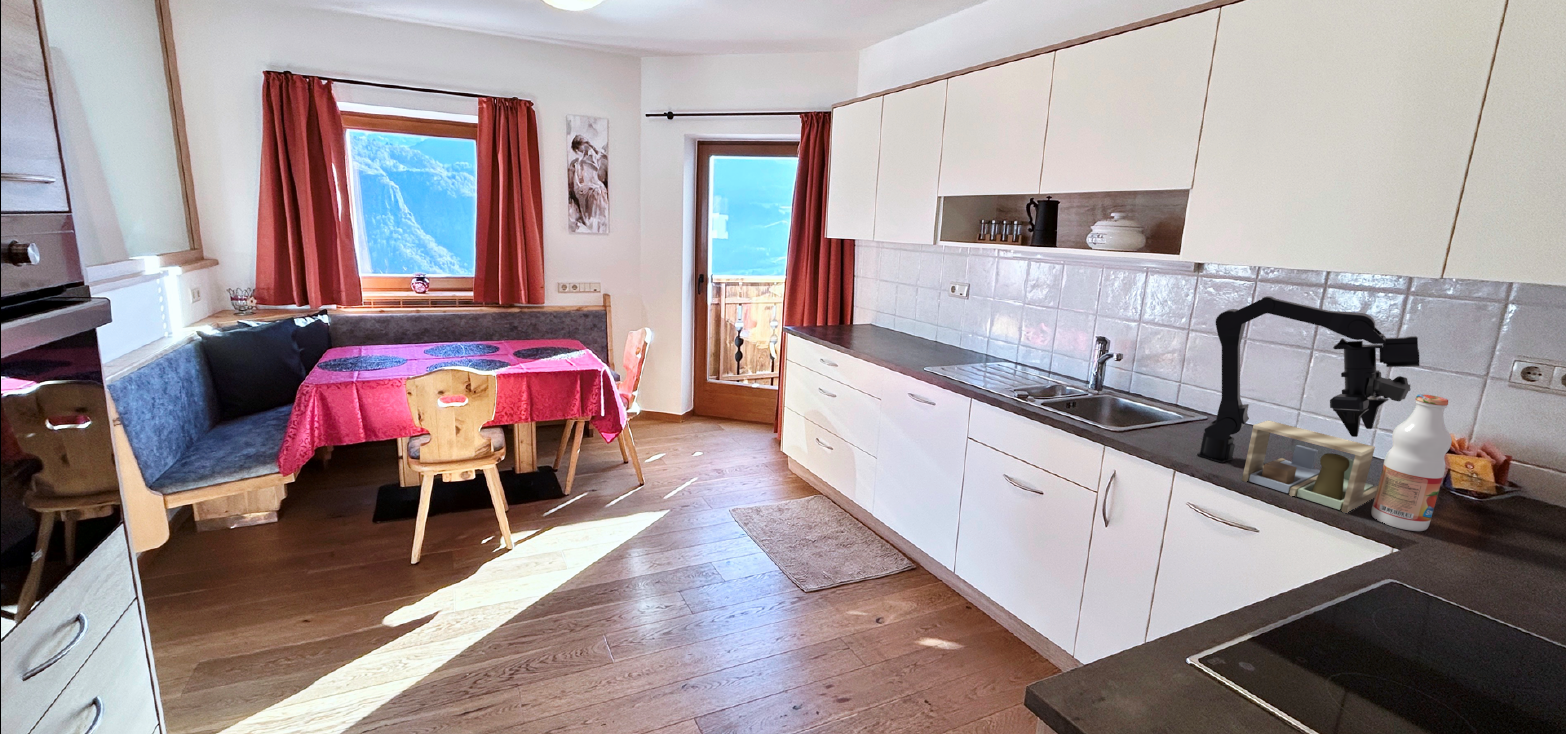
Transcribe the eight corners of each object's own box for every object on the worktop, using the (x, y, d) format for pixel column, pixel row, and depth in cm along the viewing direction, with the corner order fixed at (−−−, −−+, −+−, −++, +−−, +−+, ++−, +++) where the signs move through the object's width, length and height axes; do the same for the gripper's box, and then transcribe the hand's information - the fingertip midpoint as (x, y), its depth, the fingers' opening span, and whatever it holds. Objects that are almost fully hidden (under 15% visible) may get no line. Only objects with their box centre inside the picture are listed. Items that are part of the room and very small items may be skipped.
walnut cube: (1259, 483, 166) (1264, 464, 165) (1268, 479, 169) (1273, 460, 168) (1283, 490, 162) (1287, 471, 161) (1292, 486, 165) (1296, 467, 164)
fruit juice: (1363, 509, 153) (1394, 388, 147) (1416, 518, 150) (1450, 395, 143) (1379, 526, 145) (1413, 399, 138) (1436, 536, 141) (1474, 406, 135)
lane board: (1241, 480, 167) (1253, 424, 164) (1279, 465, 179) (1291, 412, 176) (1346, 514, 150) (1362, 452, 147) (1380, 494, 162) (1395, 437, 159)
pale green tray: (1296, 496, 158) (1303, 469, 157) (1330, 480, 169) (1336, 455, 167) (1339, 509, 151) (1346, 482, 150) (1371, 492, 162) (1378, 466, 161)
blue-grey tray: (1249, 481, 166) (1254, 455, 165) (1283, 466, 177) (1289, 442, 175) (1287, 493, 159) (1293, 466, 158) (1321, 477, 170) (1327, 452, 169)
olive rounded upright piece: (1311, 501, 156) (1322, 456, 154) (1306, 492, 161) (1317, 448, 159) (1345, 508, 153) (1356, 462, 151) (1338, 498, 159) (1349, 453, 156)
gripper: (1390, 374, 148) (1392, 445, 150) (1418, 362, 158) (1420, 428, 160) (1327, 373, 157) (1330, 439, 159) (1358, 361, 167) (1360, 423, 169)
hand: (1361, 432), depth 161 cm, fingers open, 9 cm apart
